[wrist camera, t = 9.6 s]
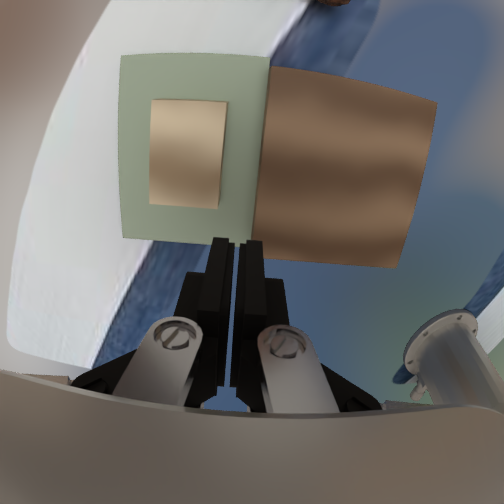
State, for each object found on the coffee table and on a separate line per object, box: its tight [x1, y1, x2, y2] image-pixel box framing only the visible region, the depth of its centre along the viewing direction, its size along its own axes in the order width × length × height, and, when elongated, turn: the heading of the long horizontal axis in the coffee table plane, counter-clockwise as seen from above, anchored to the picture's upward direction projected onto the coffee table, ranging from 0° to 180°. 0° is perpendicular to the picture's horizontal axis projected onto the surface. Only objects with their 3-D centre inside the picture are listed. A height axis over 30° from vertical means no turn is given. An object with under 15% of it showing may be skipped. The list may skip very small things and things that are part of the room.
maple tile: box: [149, 99, 229, 209], centre depth 26 cm, size 9×6×2 cm, turn 174°
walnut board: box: [251, 66, 437, 268], centre depth 27 cm, size 16×14×4 cm
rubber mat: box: [118, 53, 270, 247], centre depth 28 cm, size 18×13×1 cm
